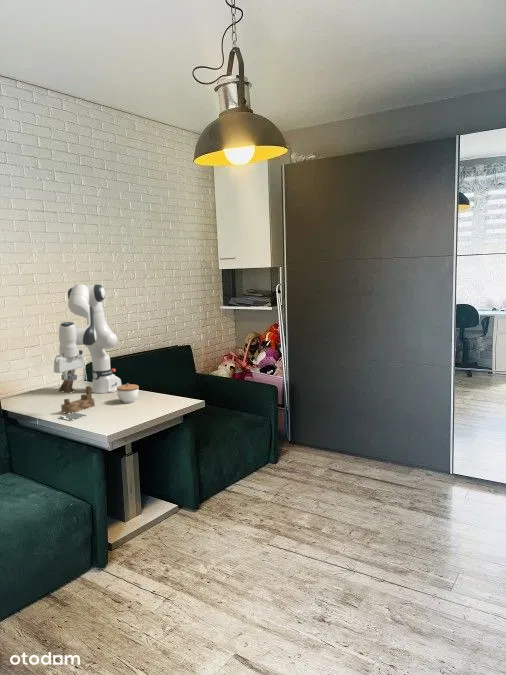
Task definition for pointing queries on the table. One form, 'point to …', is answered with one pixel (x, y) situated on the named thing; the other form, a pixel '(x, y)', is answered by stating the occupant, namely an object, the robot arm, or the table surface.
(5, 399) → the table surface
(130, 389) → the lidded bowl
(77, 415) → the felt mat
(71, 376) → the lever cap
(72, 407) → the plane body
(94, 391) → the robot arm
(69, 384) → the worn brown figurine
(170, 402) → the table surface
